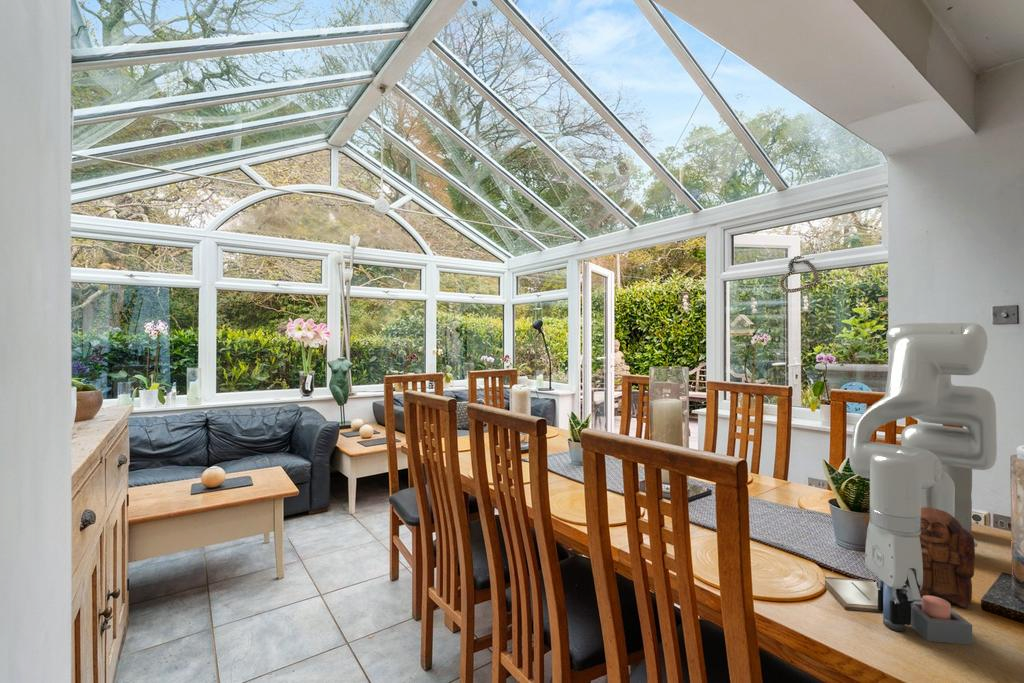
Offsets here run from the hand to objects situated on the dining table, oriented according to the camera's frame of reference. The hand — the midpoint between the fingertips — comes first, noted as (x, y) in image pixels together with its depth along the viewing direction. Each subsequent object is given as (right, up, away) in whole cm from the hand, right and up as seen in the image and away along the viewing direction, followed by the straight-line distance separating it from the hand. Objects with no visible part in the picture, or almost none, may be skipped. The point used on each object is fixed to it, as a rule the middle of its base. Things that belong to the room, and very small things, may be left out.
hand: (893, 616), depth 91 cm
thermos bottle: (+50, -1, +43) cm, 66 cm away
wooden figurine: (+17, -2, +11) cm, 20 cm away
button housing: (+7, -2, -1) cm, 7 cm away
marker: (0, -2, 0) cm, 2 cm away
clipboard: (+4, -2, +10) cm, 11 cm away
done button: (+7, 0, -1) cm, 7 cm away
